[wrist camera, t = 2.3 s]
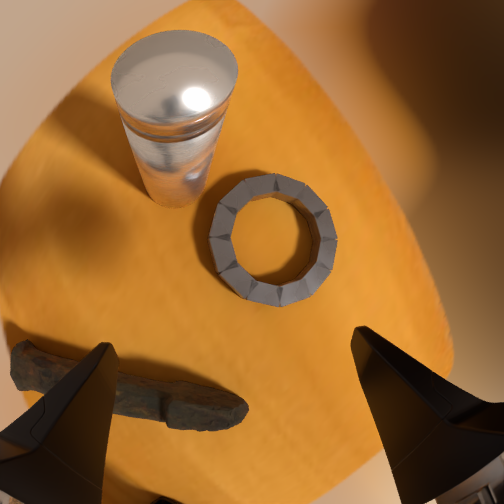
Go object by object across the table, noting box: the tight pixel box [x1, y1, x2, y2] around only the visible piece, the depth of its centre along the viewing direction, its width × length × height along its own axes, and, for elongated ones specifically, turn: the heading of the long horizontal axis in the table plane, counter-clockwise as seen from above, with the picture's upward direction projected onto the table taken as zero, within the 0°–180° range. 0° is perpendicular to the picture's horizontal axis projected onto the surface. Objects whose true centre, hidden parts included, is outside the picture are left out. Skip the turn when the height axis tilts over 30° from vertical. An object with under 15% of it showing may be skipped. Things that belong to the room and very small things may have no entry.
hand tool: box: [10, 339, 249, 432], centre depth 17 cm, size 19×4×5 cm, turn 80°
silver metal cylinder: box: [111, 30, 238, 208], centre depth 15 cm, size 5×5×13 cm
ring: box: [207, 173, 338, 307], centre depth 22 cm, size 10×10×2 cm
